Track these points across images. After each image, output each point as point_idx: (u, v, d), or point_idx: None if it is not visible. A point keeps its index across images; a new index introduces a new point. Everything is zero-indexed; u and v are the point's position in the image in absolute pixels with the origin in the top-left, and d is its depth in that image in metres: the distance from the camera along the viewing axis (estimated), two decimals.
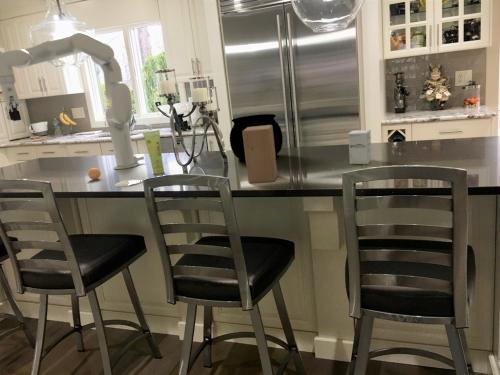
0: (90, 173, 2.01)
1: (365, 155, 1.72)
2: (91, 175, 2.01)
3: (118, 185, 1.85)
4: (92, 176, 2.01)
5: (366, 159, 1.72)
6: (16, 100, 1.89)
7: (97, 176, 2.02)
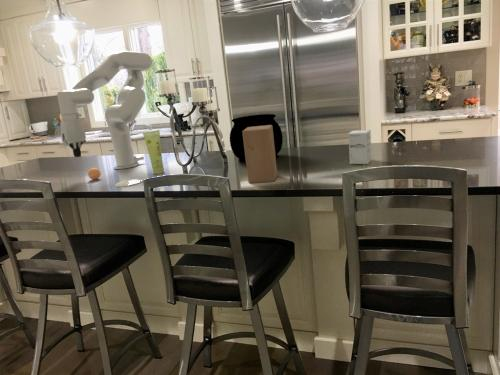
0: (90, 173, 2.01)
1: (365, 155, 1.72)
2: (91, 175, 2.01)
3: (118, 185, 1.85)
4: (92, 176, 2.01)
5: (366, 159, 1.72)
6: None
7: (97, 176, 2.02)
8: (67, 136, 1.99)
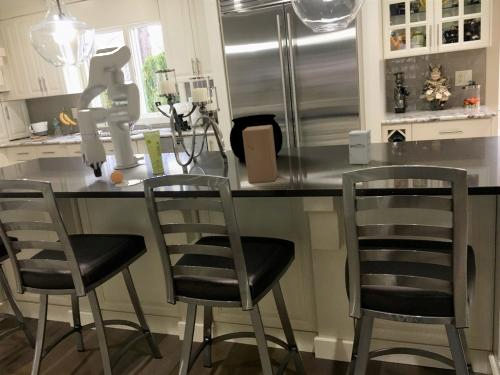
0: (113, 178, 1.87)
1: (365, 155, 1.72)
2: (114, 180, 1.88)
3: (118, 185, 1.85)
4: (114, 181, 1.88)
5: (366, 159, 1.72)
6: None
7: (119, 182, 1.90)
8: (88, 157, 1.94)
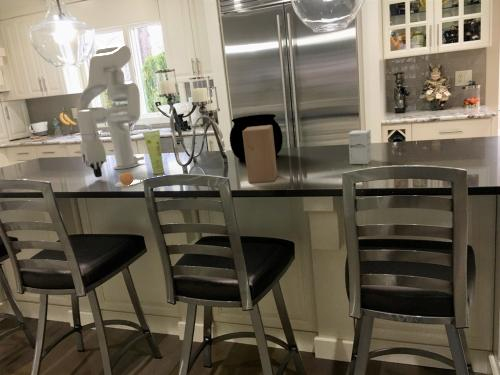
0: (120, 180, 1.84)
1: (365, 155, 1.72)
2: (120, 178, 1.84)
3: (118, 185, 1.85)
4: (120, 176, 1.84)
5: (366, 159, 1.72)
6: None
7: None
8: (88, 157, 1.94)
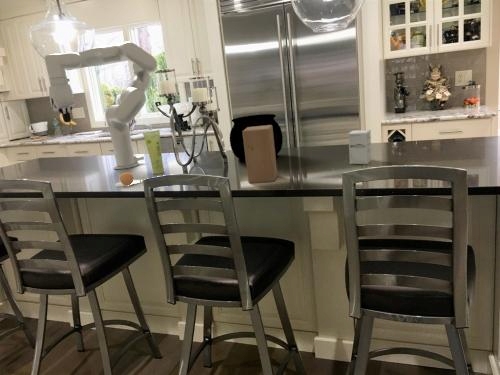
0: (120, 180, 1.84)
1: (365, 155, 1.72)
2: (120, 178, 1.84)
3: (118, 185, 1.85)
4: (120, 176, 1.84)
5: (366, 159, 1.72)
6: None
7: None
8: (56, 100, 1.98)
